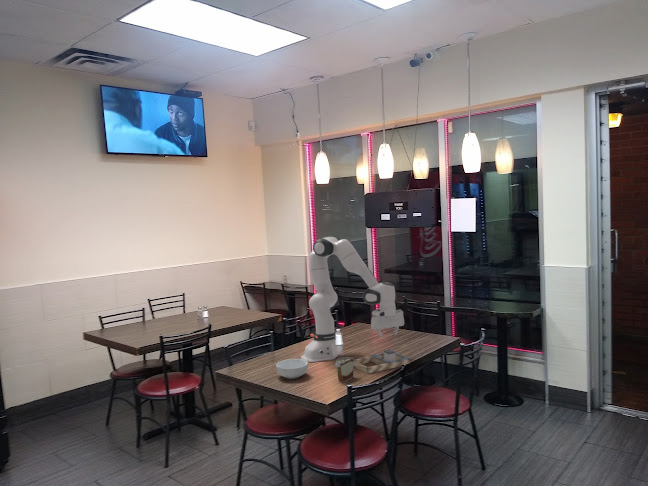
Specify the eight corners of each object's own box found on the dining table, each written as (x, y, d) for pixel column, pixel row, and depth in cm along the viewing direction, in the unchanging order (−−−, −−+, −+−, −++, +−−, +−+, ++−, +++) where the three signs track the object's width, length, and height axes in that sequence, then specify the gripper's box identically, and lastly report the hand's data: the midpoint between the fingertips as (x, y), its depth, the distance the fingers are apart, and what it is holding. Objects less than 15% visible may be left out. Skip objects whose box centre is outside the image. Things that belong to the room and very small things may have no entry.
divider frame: (367, 373, 253) (367, 367, 253) (351, 365, 269) (351, 359, 268) (409, 364, 265) (409, 358, 265) (391, 357, 281) (391, 351, 281)
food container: (345, 374, 254) (344, 355, 253) (355, 376, 250) (354, 357, 250) (331, 381, 244) (330, 361, 244) (340, 383, 241) (339, 363, 240)
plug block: (389, 364, 267) (388, 352, 266) (384, 362, 271) (383, 350, 271) (395, 363, 269) (395, 351, 268) (390, 361, 273) (389, 349, 273)
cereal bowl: (270, 377, 255) (269, 364, 255) (294, 369, 267) (293, 356, 267) (291, 384, 243) (290, 370, 243) (315, 375, 255) (314, 362, 255)
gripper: (399, 308, 276) (400, 332, 277) (369, 312, 267) (369, 337, 268) (406, 309, 270) (406, 334, 271) (375, 314, 261) (376, 339, 262)
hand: (388, 335), depth 269 cm, fingers open, 8 cm apart
